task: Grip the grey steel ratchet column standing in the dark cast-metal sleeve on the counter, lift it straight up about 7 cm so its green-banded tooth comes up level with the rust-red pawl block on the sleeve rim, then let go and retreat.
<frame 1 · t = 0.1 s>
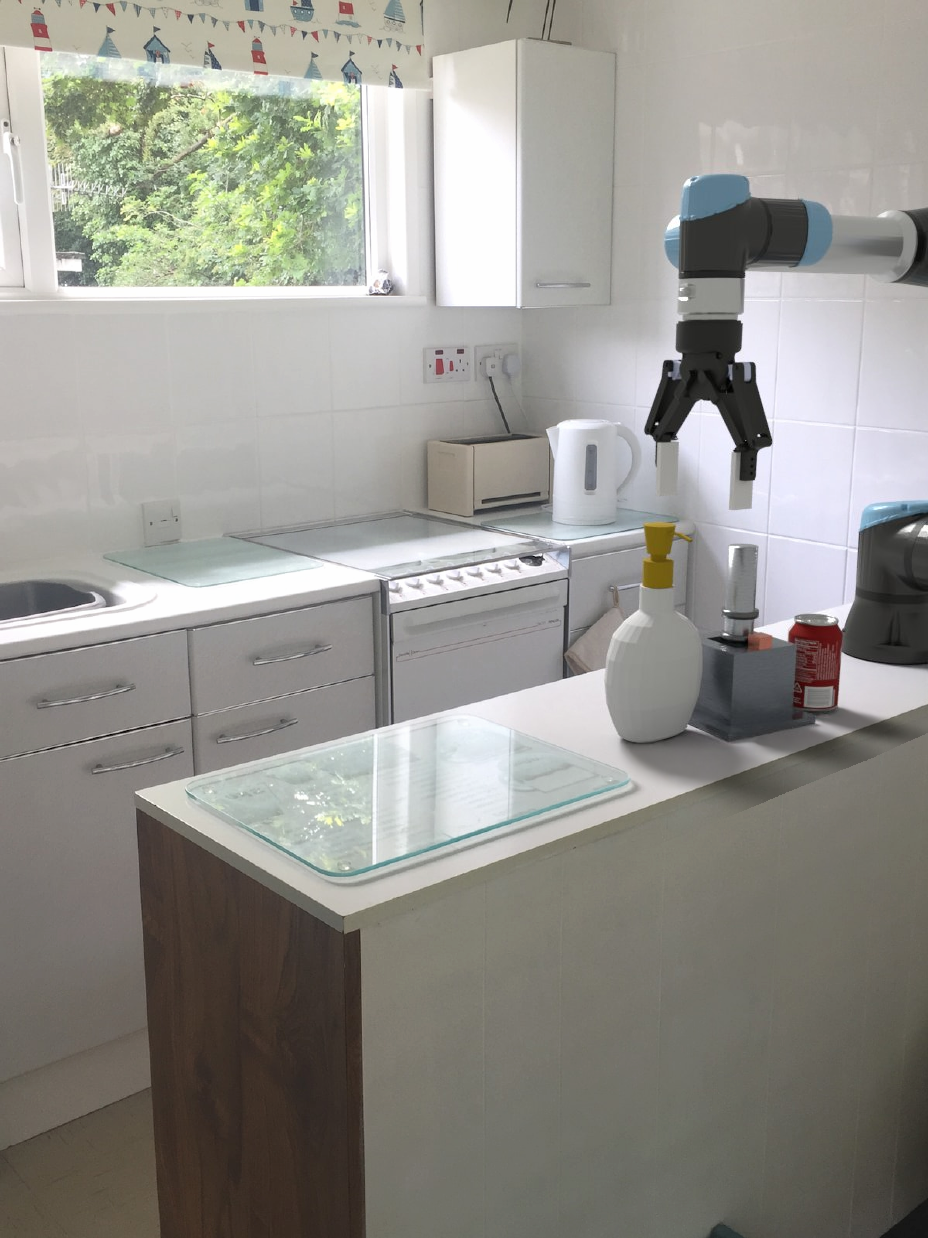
hand: (701, 502, 144), 28 cm above the countertop, fingers open, 13 cm apart
soda can: (810, 709, 157), on the countertop
sleeve: (734, 716, 154), on the countertop
column: (739, 627, 151), point 12 cm above the countertop, slide at 0.0 cm
soap bottle: (654, 737, 147), on the countertop
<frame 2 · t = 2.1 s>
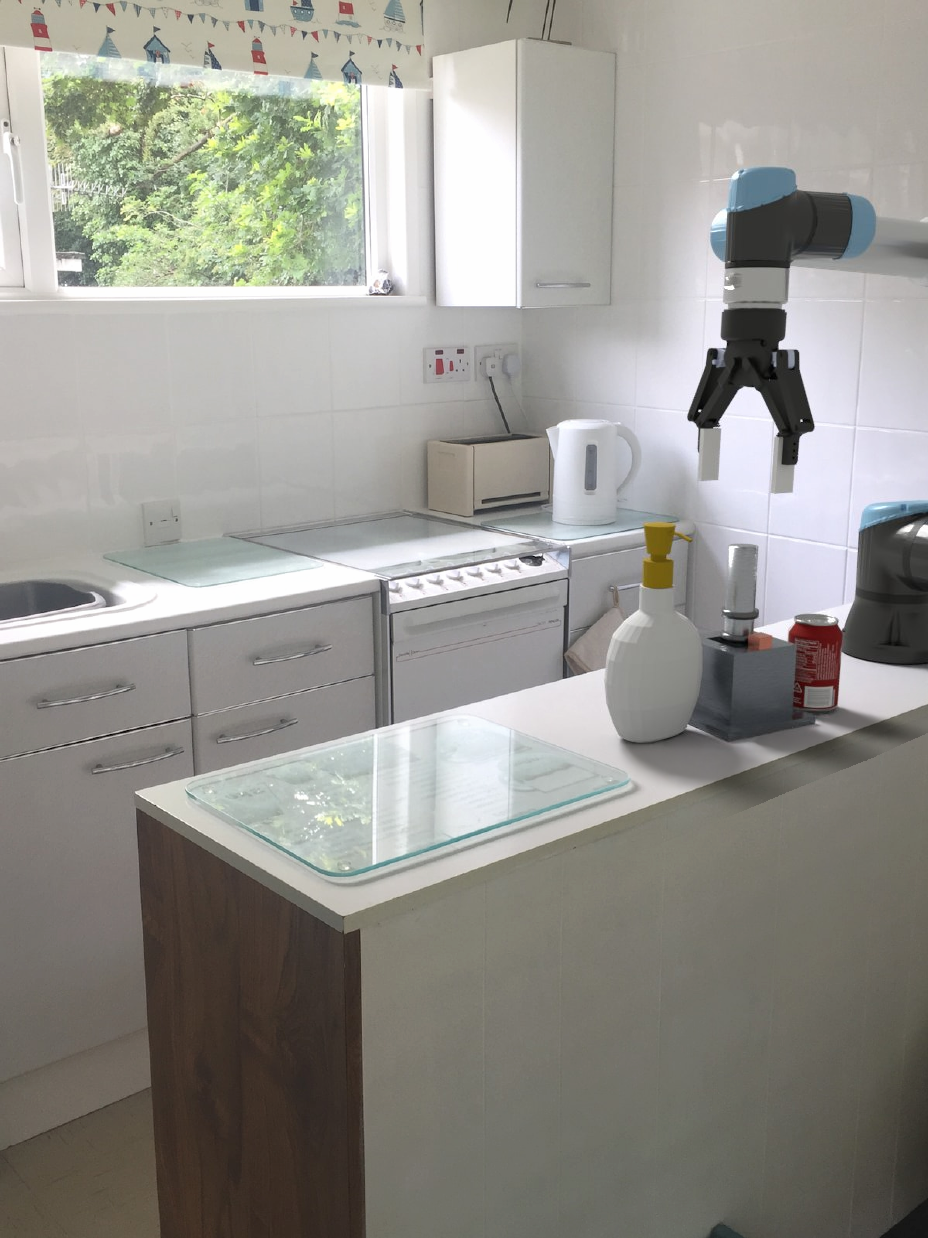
hand: (743, 486, 148), 29 cm above the countertop, fingers open, 13 cm apart
nothing on the countertop moved.
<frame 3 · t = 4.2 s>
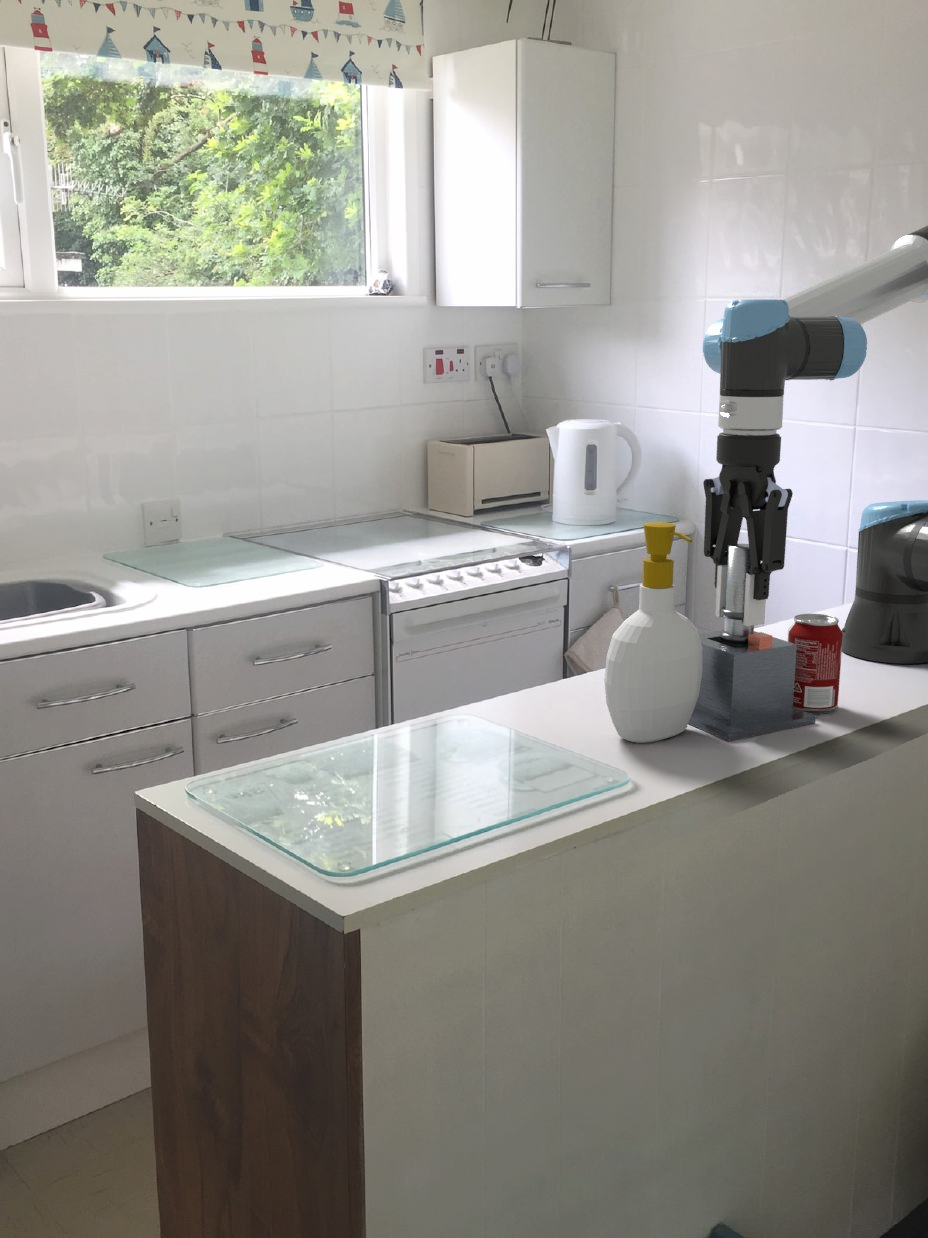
hand: (739, 619, 151), 13 cm above the countertop, fingers closed on column, 5 cm apart
column: (739, 627, 151), point 12 cm above the countertop, slide at 0.0 cm, touching gripper
everything else where it was.
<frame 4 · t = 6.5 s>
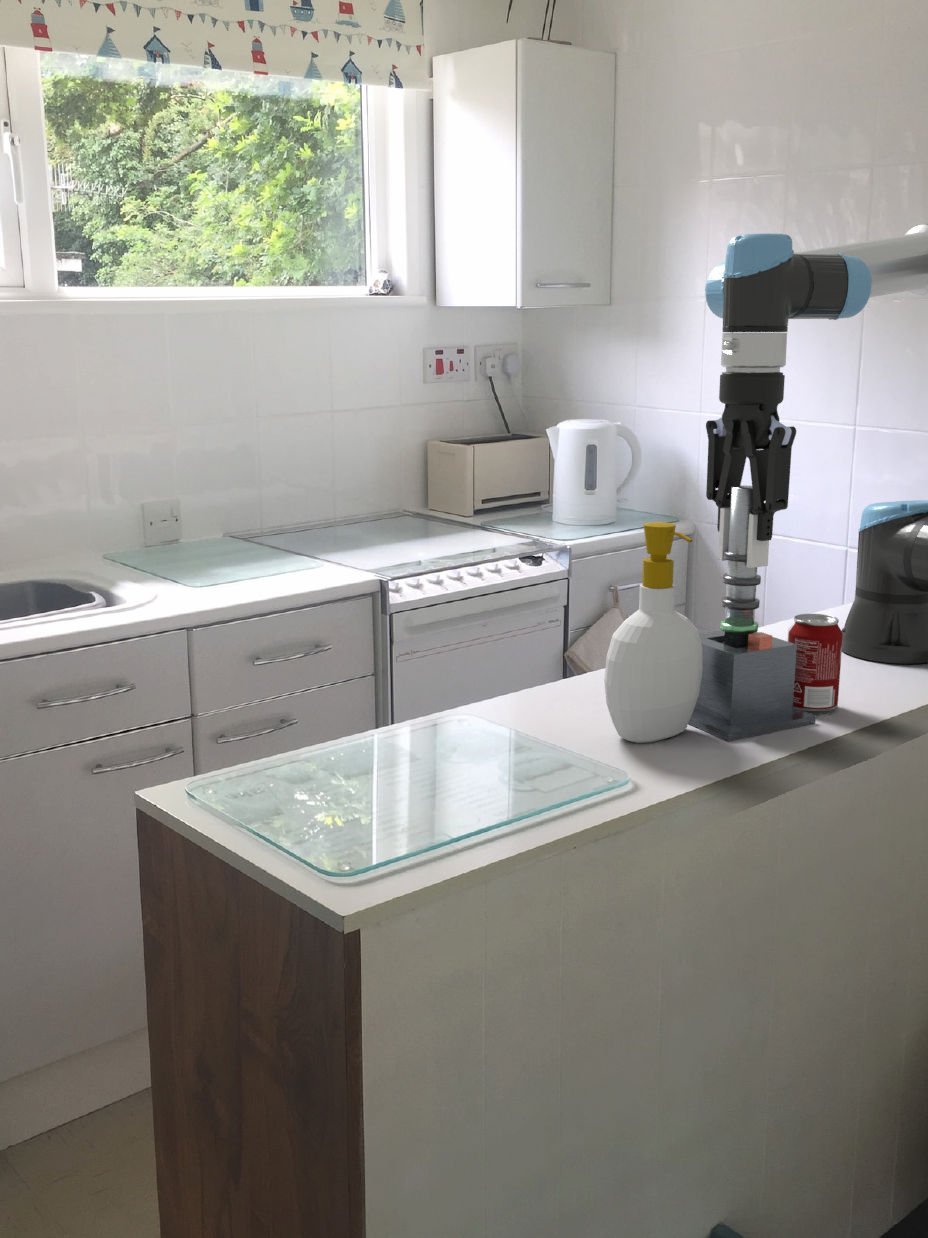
hand: (742, 562, 149), 20 cm above the countertop, fingers closed on column, 5 cm apart
column: (742, 570, 149), point 19 cm above the countertop, slide at 7.3 cm, touching gripper
everything else where it was.
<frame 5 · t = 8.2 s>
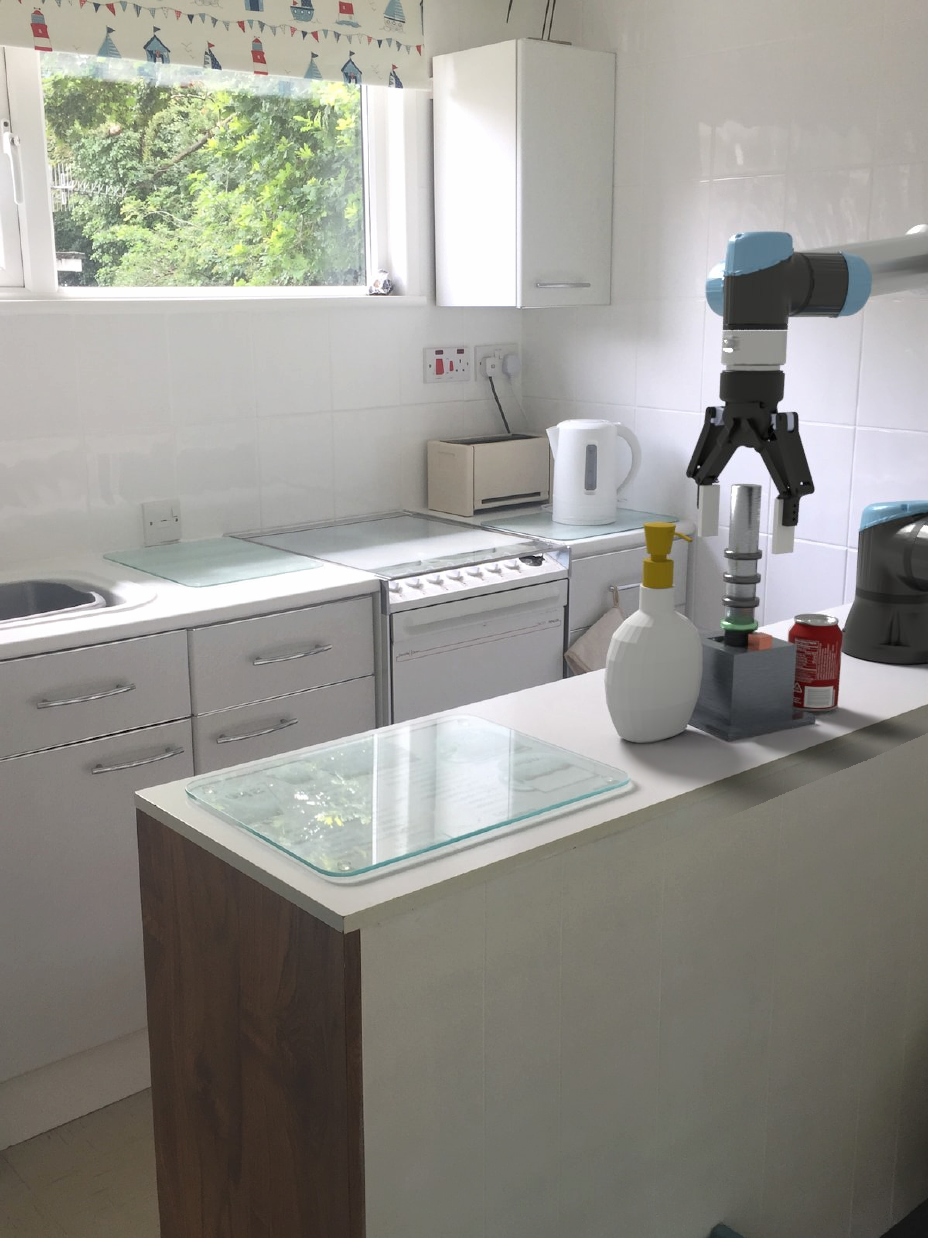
hand: (743, 544, 149), 22 cm above the countertop, fingers open, 13 cm apart
column: (742, 569, 149), point 19 cm above the countertop, slide at 7.5 cm
everything else where it was.
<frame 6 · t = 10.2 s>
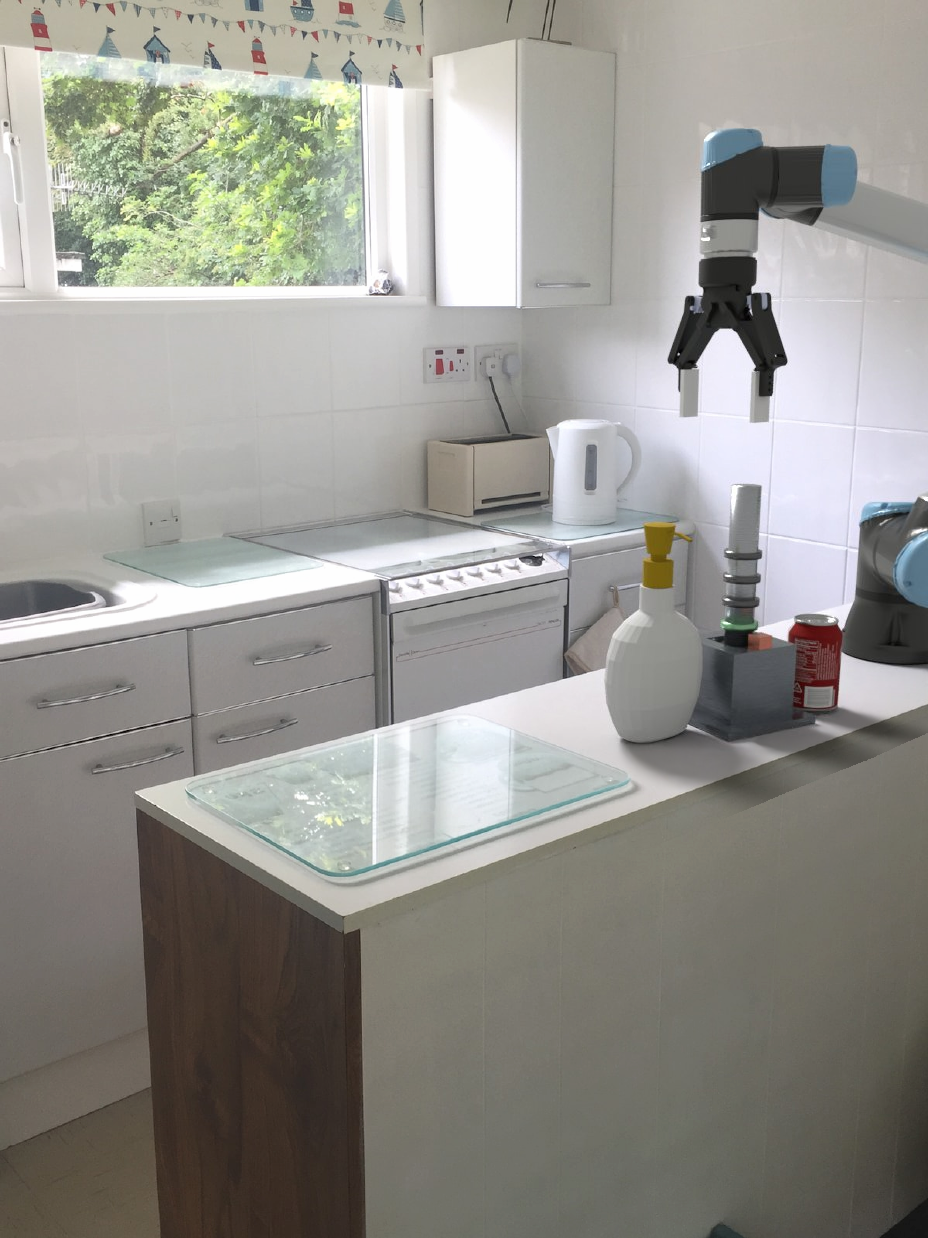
hand: (722, 419, 164), 36 cm above the countertop, fingers open, 13 cm apart
nothing on the countertop moved.
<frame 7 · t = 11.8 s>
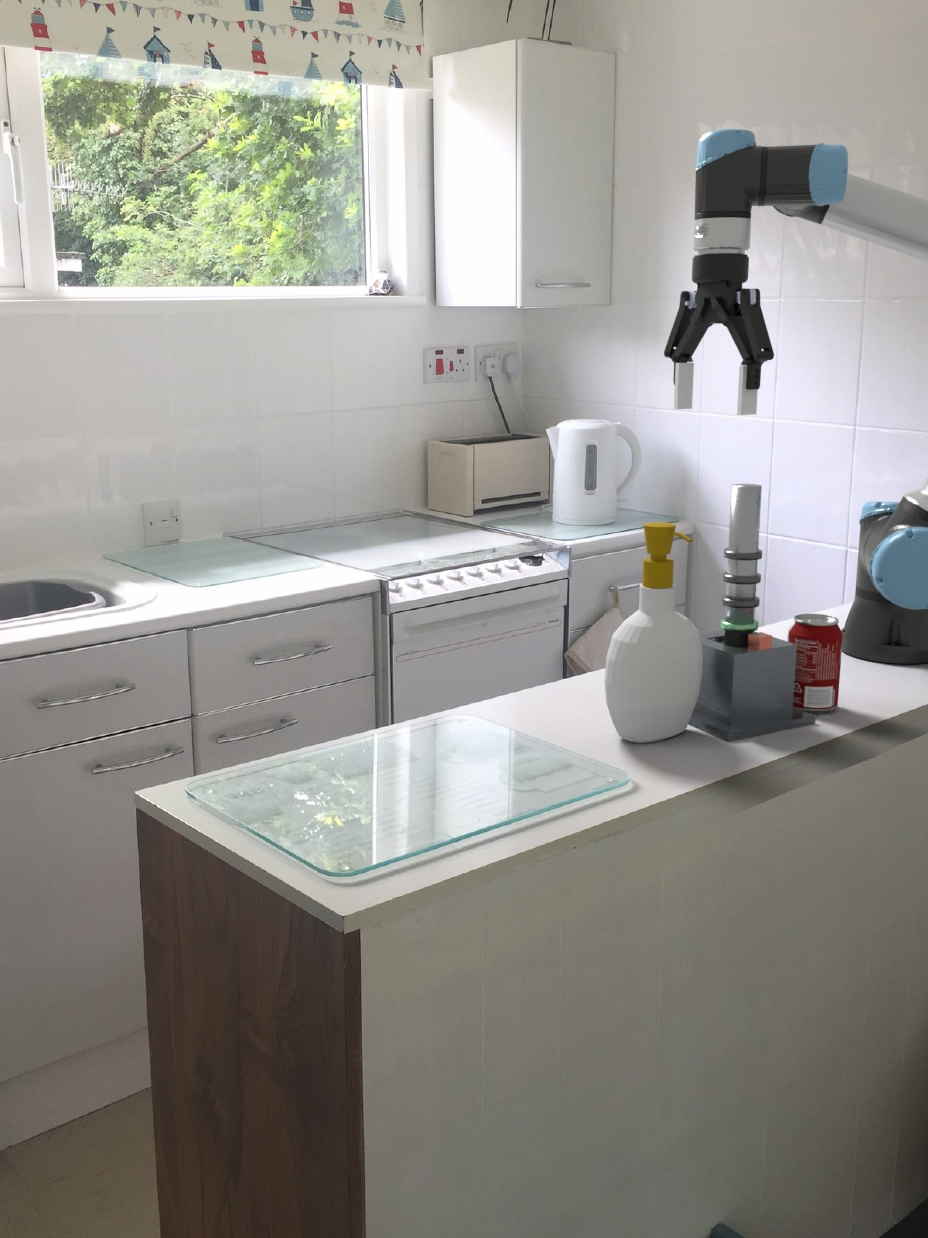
hand: (713, 411, 169), 37 cm above the countertop, fingers open, 13 cm apart
nothing on the countertop moved.
at the end: column slide at 7.5 cm; the gripper is holding nothing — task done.
